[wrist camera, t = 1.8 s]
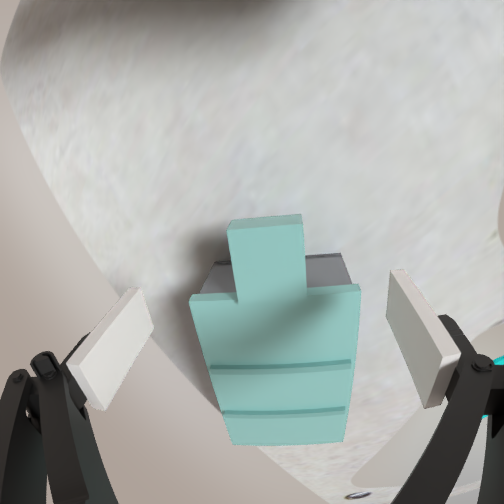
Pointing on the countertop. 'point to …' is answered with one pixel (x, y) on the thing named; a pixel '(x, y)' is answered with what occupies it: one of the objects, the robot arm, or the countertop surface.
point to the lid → (278, 340)
